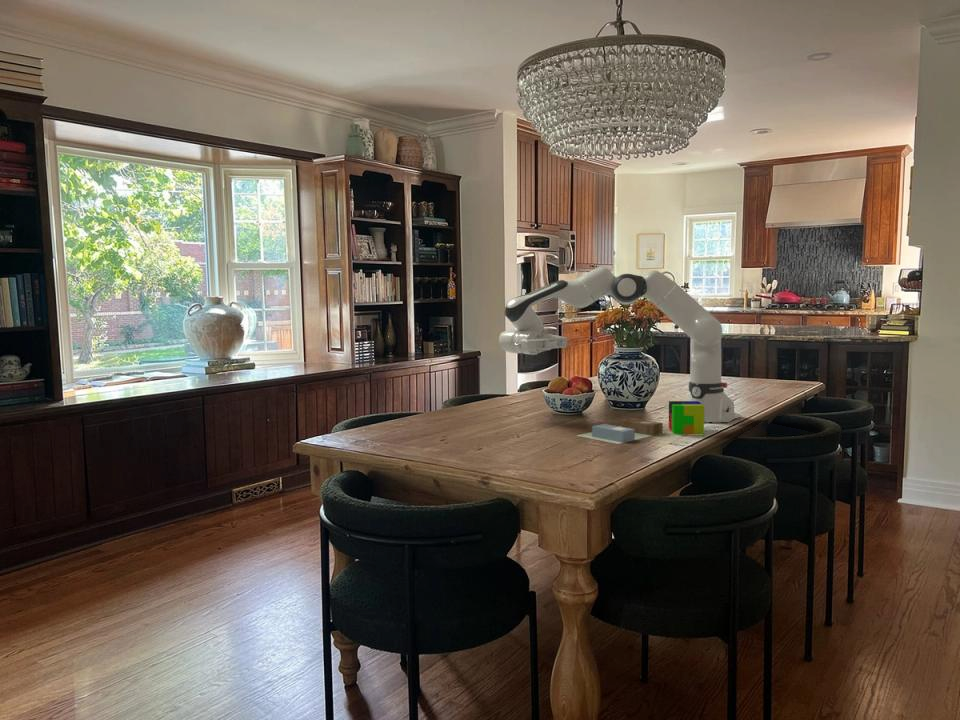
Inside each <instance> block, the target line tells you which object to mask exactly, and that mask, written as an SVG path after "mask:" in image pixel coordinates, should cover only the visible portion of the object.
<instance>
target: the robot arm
mask: <svg viewBox="0 0 960 720" xmlns="http://www.w3.org/2000/svg"><path fill="white" fill-rule="evenodd" d="M605 296H609V297H611V298H612V299H613V300H614V301H615V302H616V303H618V304H620V305H623V306H630V305H633V304H635V303H636V302H637V301H638V300H640V298H644V299H647V300H648V301H650V302H651V303H652V304H653V305H654V306H655V307H656V308H657V309H658V310H660V311H661V312H662V313H663V314H664V315H665V316H667V318H668V319H670V320H671V321H672V322H673V323H674V324H675V325H677V327H678V328H680V329H681V331H682V332H684V333H685V334H686V335H687V336H688V337H689V338H690V344H689V345H690V359H689V361H690V364H689V365H690V366H689V372H690V375H689V379H690V380H689V382H688V392H689V394H687V396H686V400H685V401H699V402H700V403H701V404H703V405H704V423H709V422H712V423H721V422H728V423H730V422H732V421H731V420H733V419H735V418H737V417H739V416H741V417H742V415H741V414H740V413H736V412H735V403H734V400H732V399H731V398H730V397H729V396H728V395H727V394H726V393H725V392H724V391H725V389H727V388H728V382H726V381H725V382H723V381H722V337H723V327H722V326H723V325H722V324H721V322H720V320H718V319H717V318H716V317H715V316H714V315H713V314H711V313H710V312H709V311H708V310H707V309H706V308H704V307H703V306H702V305H701V304H700V303H699V302H697V300H695V299H694V298H693V296H691V295H690V294H689V293H687V291H685V290H684V289H683V288H682V287H680V285H679V284H677V283H676V282H675V281H674V280H673V279H672V278H670V277H668V276H667V275H665V274H664V273H662V272H661V271H659V270H655V269H654V270H651V271H648V272H647V273H645V274H644V275H643V276H641V275H637V274H632V273H622V274H620V275H618V276H615V275H614V274H613V273H612V271H611V270H610V269H609V268H607V267H605V266H600V267H598V268H594V269H593V270H590V271H588V272H586V273H584V274H583V275H581V276H579V277H578V278H576V279H574V280H573V279H572V280H564V279H560V280H556V281H553V282H551V283H548V284H546V285H544V286H542V287H539V288H537V289H535V290H533V291H530V292H528V293H525V294H522V295H518V296H516V297H512V298H511V299H510V300H509V301H508V302H507V303H506V305H505V309H504V315H505V317H506V319H508V321H510V322H511V324H512V325H513V327H514V328H512V329H510V330H506V331H502V332H500V334H499V336H498V344H499V346H500V347H501V349H502V350H503V351H505V352H507V353H512V354H524V355H531V356H532V355H533V356H535V355H538V354H540V353H542V352H547V351H551V350H553V349H560V348H561V349H562V348H567V347H568V338H567V337H566V336H561V335H555V334H551V333H550V332H549V333H548V332H544V330H545V325H544V323H543V321H542V320H541V318H540V317H539V315H538V314H537V313H536V312H535V310H534V309H533V307H534V306H536V305H538V304H541V303H543V302H545V301H547V300H549V299H559V300H560V301H562V302H564V303H566V304H567V305H568V306H570V307H573V308H576V309H583V308H586V307H588V306H590V305H592V304H594V303H595V302H596V301H598V300H599V299H602V298H603V297H605ZM737 419H738V418H737ZM735 420H736V419H735ZM729 421H730V422H729ZM733 421H734V420H733Z"/></svg>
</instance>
